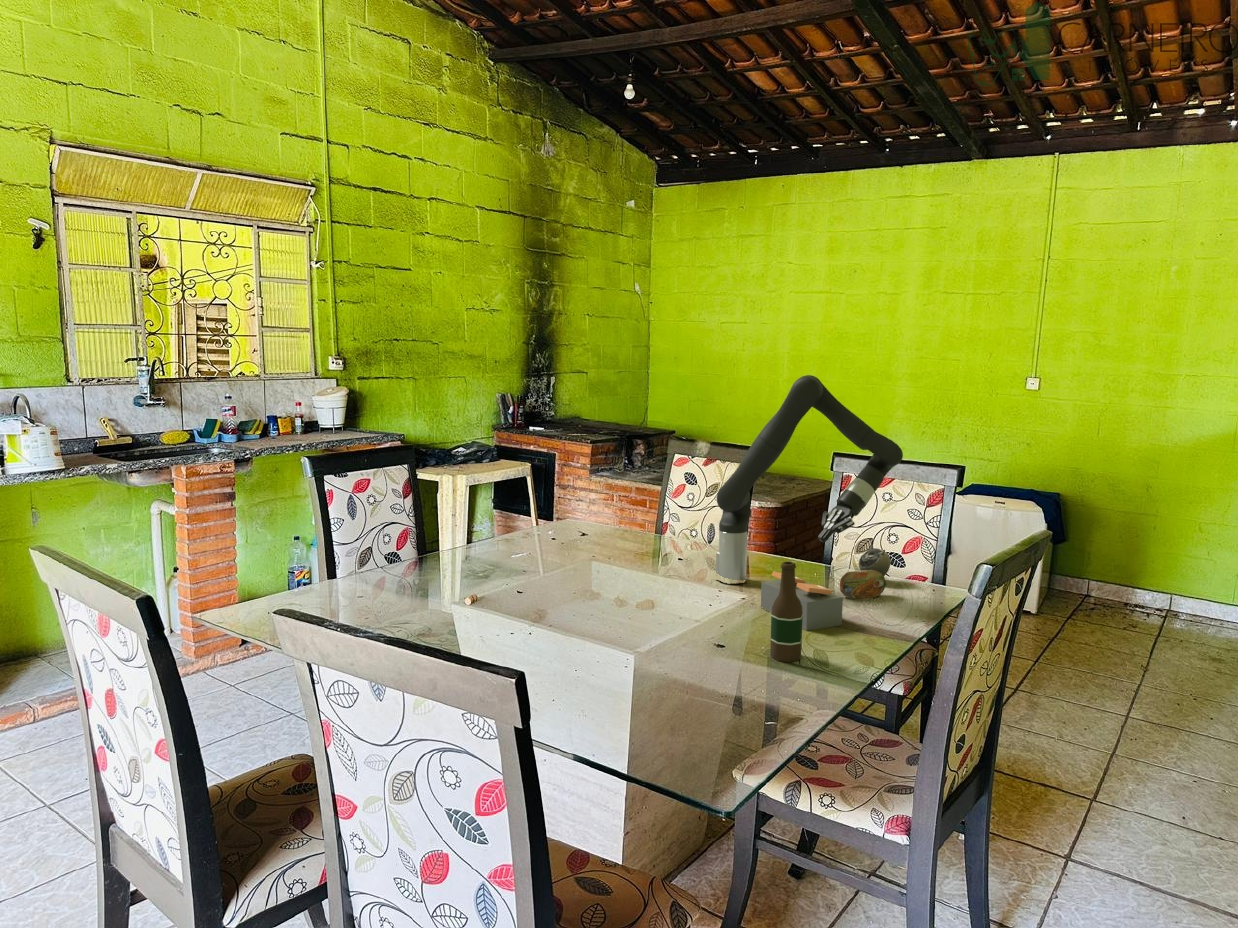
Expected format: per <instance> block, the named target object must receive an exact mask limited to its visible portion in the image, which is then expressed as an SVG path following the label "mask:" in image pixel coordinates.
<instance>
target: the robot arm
mask: <svg viewBox="0 0 1238 928" xmlns="http://www.w3.org/2000/svg"><path fill="white" fill-rule="evenodd" d="M812 408H813V409H815V410H817V411H818V412H819V413H821V414H822V415H823V416H824V417H826V419H828V421H830V423H832V424H833V426H834V427H836V429H837V430H838V431H839V432H840V433H841V434H842V435H843V436H844V437H845V438H846V439H848V441H850V442H851V443H852V444H853V445H855V446H856V447H857V448H858V449H860V450H863V451H869V452H870V453H872V455H871V457H870V458H869V460H868V462H867V463H866V465H865V466H864V467H863V468H862V469H861V471H859V473H858V474H857V475H856V477H855V478H854V479H853V480H852V481H851V482H850V483H849V484H848V485H847V486H846V488H845V489H844V490H843V491H842V493H841V494H840V495H839V496H838V498H837V499H836V505H835V506H834V507H833V508H832V509H831V510H830V511H828V510H825V511H823V512H822V519H821V526H822V527H823V530H822V531H821V532H820V533H819V534H818V536H817V539H818V540H819V542H821V543H823V544H824V543H826V542H827V541H828V540H829V539H830V537H831V536H832V535H834V534H835V533H837V534H840V533H843V532H844V531H846V530H847V529H850V528H852V527H853V526H855V524H856V523H855V521H853V519H854V517H857V516H858V515H859V514H860V513H861V512H862V511H863V510H864V508H865V506H867V504H868V503H869V502H870V500H871V499H872V497H873V495H874V494H875V492H877V490H878V489H879V487H880V486H881V485H882V484H883V482H884V478H885V477H886V476H887V474H888V473H889V472H890V471H891V470H892V469H893V468H894V467H896V466H897V465H899V464H900V463H901V462H902V460H903V458H904V453H903V450H902V448H901V446H899V445H898V444H897V443H896V442H895V441H894V440H892V439H890V438H888V437H886V436H885V435H883V434H881V433H879V432H877V431H875V430H874V428H872V427H871V426H870V425H869V424H867V423H866V422H865V421H864V420H862V419H861V418H860V417H859V416H857V415H856V414H855V413H854V412H852V411H851V410H850V409H849V408H848V407H846V406H845V405H844V404H843V403H842V402H840V400H838V398H836V397H835V396H834V395H833V394H832V393H831V392H830V391H829V390H828V388H827V387H826V385H824V384H823V382H822V381H821V380H820V379H819V378H818V377H817V376H814V375H811V374H810V375H809V374H807V375H803V376H801V377H799V378H797V380H795V381H794V382H793V383H792V386H791V388H790V389H789V392H788V394H787V395H786V397H785V399H784V401H783V403H782V404H781V406H780V408H779V409H778V410H777V412H776V413H775V414H774V415H773V416H772V417H771V419H769V421H768V422H767V423H766V424H765V425H764V426H763V428H762V429H761V430H760V432H759V433H758V435H757V436H756V438H755V439H754V441H753V442H752V443H751V445H750V447H749V448H748V450H747V451H746V453H745V454H744V456H743V458H742V460H741V461H740V463H739V465H738V466H737V468H736V469H735V471H734V472H733V473H732V474H731V475H730V477H729V478H728V479H727V480H726V481H725V482H724V484H722V486H721V487H720V488H719V489H718V491H717V493H716V503H717V506H718V507H719V509H720V510H722V515H721V519H720V520H719V522H718V551H716V553H715V574H716V573H717V574H719V575H720V576H722V577H724V578H728V579H732V580H745V579H746V580H747V555H748V554H747V552H748V525H749V522H750V513H751V493H750V490H751V489H752V487H753V486H754V484H755V483H756V482H757V481H758V479H759V478H761V476H763V474H765V473H766V472H767V471H768V470H769V469H770V468H771V466H772V465H774V464H775V462H776V461H777V460H778V458H779V457H780V456H781V454H782V453H783V452H784V450H785V449H786V447H787V446H788V444H789V442H790V440H791V438H792V437H793V434H794V432H795V430H796V428H797V426H798V425H799V423H800V422H801V420H802V419H803V418H804V417H805V415H806V414H808V412H809V411H810V410H811V409H812Z"/></svg>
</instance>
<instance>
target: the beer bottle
mask: <svg viewBox="0 0 1238 928" xmlns="http://www.w3.org/2000/svg"><path fill="white" fill-rule="evenodd" d="M780 568H781V572H780V573H781V584H780V592H779V595H778V597H777V598H776V600H775V601H774V604H773V606H772V613H770V614H771V615H770V648H769V649H770V657H771V658H772V659H774V660H776V661H777V662H784V663H794V662H799V661H800V658H801V656H802V647H803V645H802V643H803V642H802V641H803V629H802V618H803V611H802V605H801V602H800V600H799V598H798V597H797V595H796V589H795V577H796V568H797V566H796V563H795V562H792V561H783V562H781V565H780Z"/></svg>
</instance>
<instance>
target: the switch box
mask: <svg viewBox="0 0 1238 928" xmlns="http://www.w3.org/2000/svg"><path fill="white" fill-rule="evenodd" d="M780 584H781V579H780V578H779V579H774V580H765V581H761V586H760V589H761V591H760V592H761V593H760V608H761V607H763V608H764V609H766V610H767V611H766V610H765V611H766V612H768V611H769V612H768V613H770V612H771V613H772V606H773V604H774V601H775V600H776V598H777V597H778V595H779V592H780ZM805 584H811V583H809V582H807V581H806V582H805ZM796 586H797V583H795V589H796V595H797V597H798V598H799V600H800V602H801V605H802V611H803V618H802V630H804V631H806V632H807V631H808V632H809V631H814V630H819V629H826V628H827V629H828V628H832V627H837V626H842V625H843V602H844V597H843V596H841V595H838V594H836V593H834V592H832V594H831V595H830V594H821V593H812V592H807V591H805V590H802V589H800V588H798V587H796ZM764 609H763V610H764ZM771 613H770V614H771Z"/></svg>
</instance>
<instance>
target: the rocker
mask: <svg viewBox="0 0 1238 928" xmlns="http://www.w3.org/2000/svg"><path fill="white" fill-rule="evenodd" d="M781 573H782V572H778V571H772V573H771V576H773V577H775V578H777V579H779V580H780V579H781ZM805 582H807V581H806V580H805V579H802V578H800V577H797V576H795V583H804V584H805Z"/></svg>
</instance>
